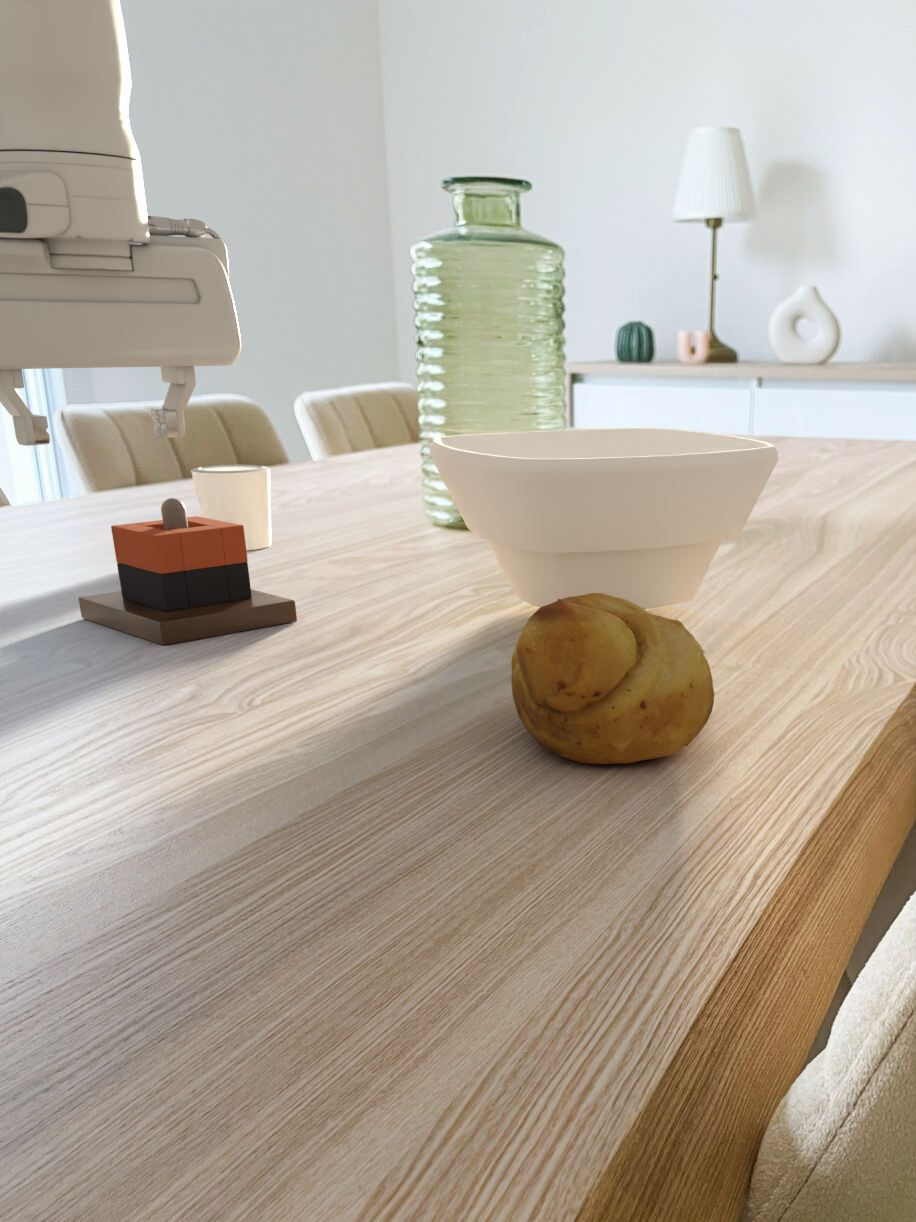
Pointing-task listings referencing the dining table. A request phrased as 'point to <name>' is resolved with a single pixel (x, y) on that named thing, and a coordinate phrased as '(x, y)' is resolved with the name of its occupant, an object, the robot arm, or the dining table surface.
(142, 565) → the terracotta pad
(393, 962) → the dining table surface
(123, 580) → the charcoal square ring
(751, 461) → the bowl
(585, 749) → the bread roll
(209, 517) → the cream cup
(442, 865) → the dining table surface
